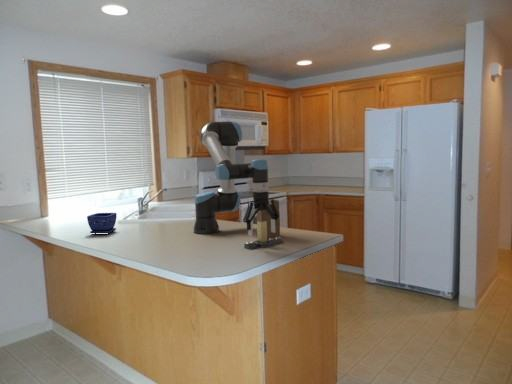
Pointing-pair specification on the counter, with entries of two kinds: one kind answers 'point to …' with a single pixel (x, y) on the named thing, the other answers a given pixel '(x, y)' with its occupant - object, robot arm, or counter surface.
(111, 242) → the counter surface
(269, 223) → the wooden block
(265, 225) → the pin
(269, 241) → the ball-studded metal bracket
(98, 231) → the flower pot
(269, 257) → the counter surface
